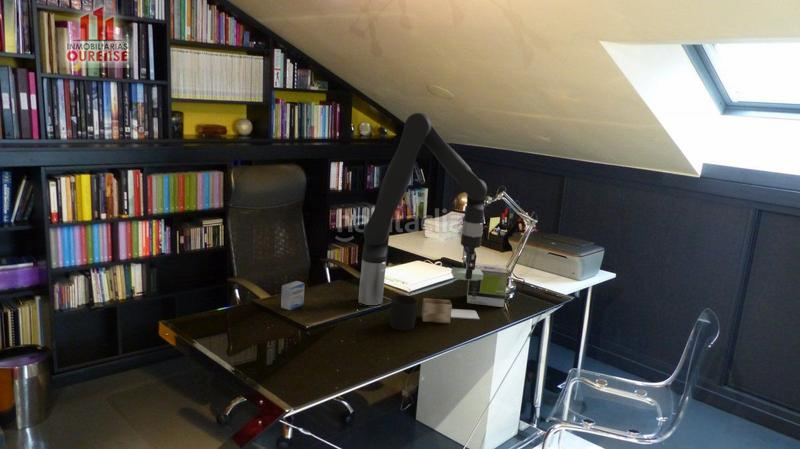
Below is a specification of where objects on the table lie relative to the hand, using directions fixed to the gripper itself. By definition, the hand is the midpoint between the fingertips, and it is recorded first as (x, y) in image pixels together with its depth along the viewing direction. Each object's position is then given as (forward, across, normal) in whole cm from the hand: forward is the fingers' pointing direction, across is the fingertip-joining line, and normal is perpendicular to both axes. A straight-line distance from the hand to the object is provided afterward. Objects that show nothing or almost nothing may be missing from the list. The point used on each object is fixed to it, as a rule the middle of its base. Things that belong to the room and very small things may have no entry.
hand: (466, 275), depth 227 cm
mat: (+15, 0, 0) cm, 15 cm away
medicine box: (+15, +3, -64) cm, 66 cm away
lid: (0, 0, 0) cm, 0 cm away
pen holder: (+16, +15, -24) cm, 32 cm away
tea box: (+16, -16, +12) cm, 25 cm away
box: (+15, +7, -11) cm, 20 cm away
